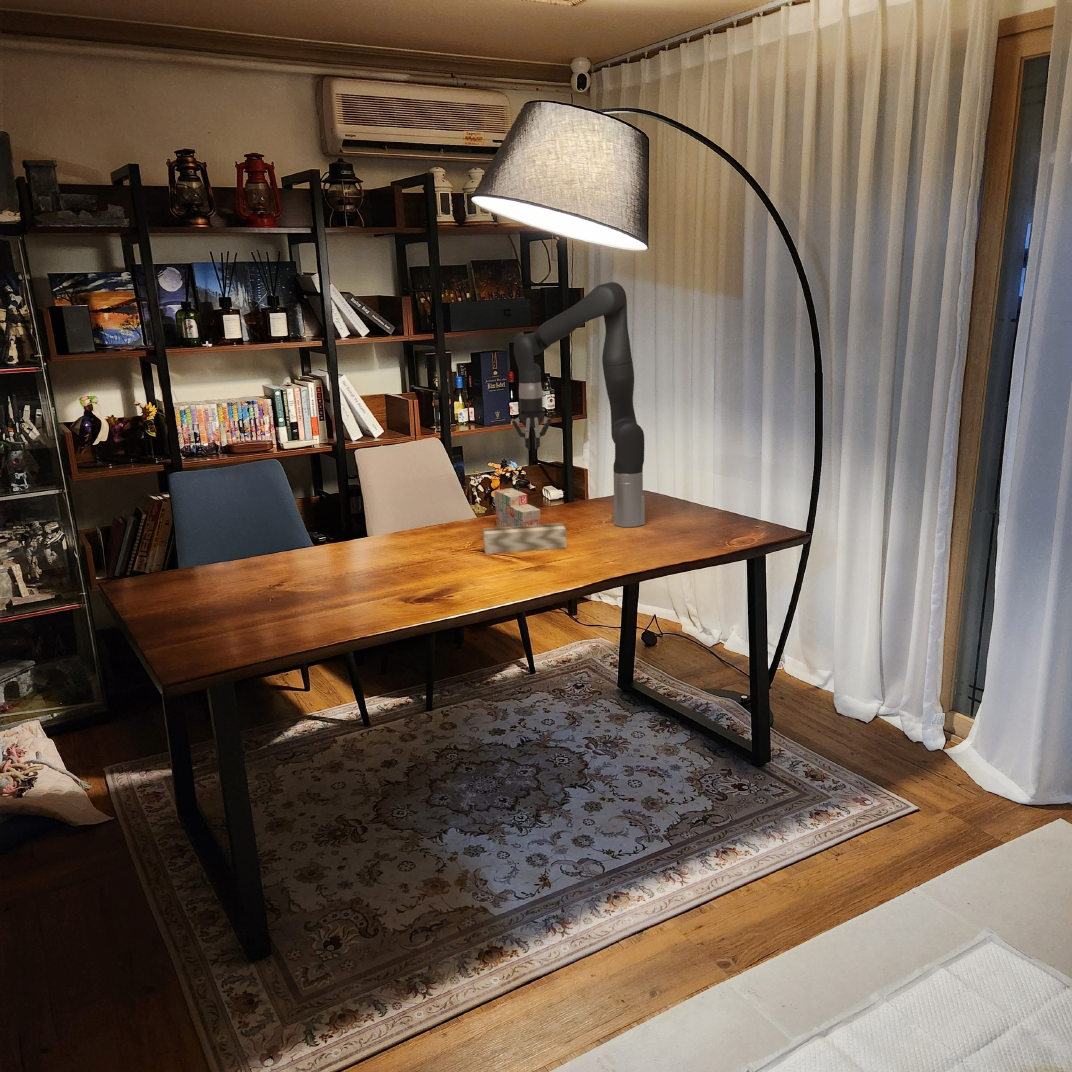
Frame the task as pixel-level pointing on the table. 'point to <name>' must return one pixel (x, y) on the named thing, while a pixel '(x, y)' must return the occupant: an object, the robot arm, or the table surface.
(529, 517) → the stack of blocks
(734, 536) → the table surface
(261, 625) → the table surface
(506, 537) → the grey zigzag-patterned beam
